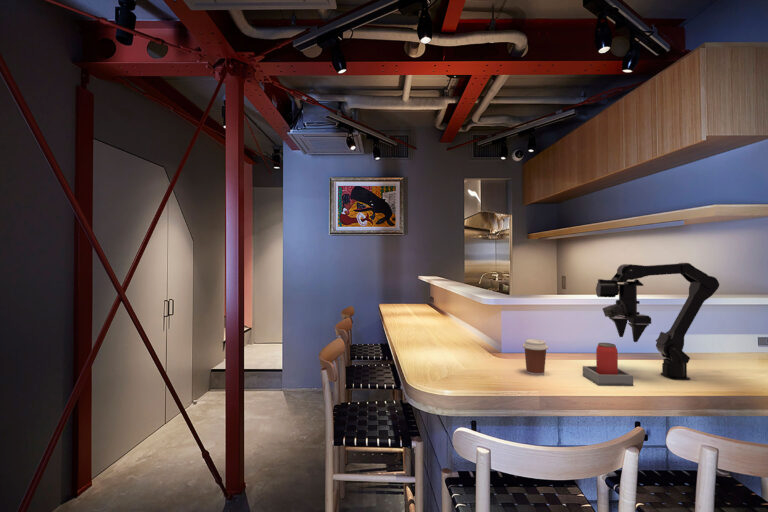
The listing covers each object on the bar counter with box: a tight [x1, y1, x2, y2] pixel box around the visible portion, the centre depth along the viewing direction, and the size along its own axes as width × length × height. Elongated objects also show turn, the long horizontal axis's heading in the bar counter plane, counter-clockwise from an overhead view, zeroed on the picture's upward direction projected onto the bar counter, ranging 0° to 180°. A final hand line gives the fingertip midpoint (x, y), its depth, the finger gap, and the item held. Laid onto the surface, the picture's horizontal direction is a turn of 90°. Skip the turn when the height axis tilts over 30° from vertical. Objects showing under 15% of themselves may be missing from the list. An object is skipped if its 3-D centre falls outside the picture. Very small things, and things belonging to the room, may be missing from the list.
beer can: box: [595, 342, 619, 375], centre depth 140 cm, size 7×7×12 cm
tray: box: [582, 365, 634, 387], centre depth 140 cm, size 12×12×4 cm
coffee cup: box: [522, 338, 549, 376], centre depth 150 cm, size 9×9×12 cm
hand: (628, 339), depth 148 cm, fingers open, 9 cm apart
